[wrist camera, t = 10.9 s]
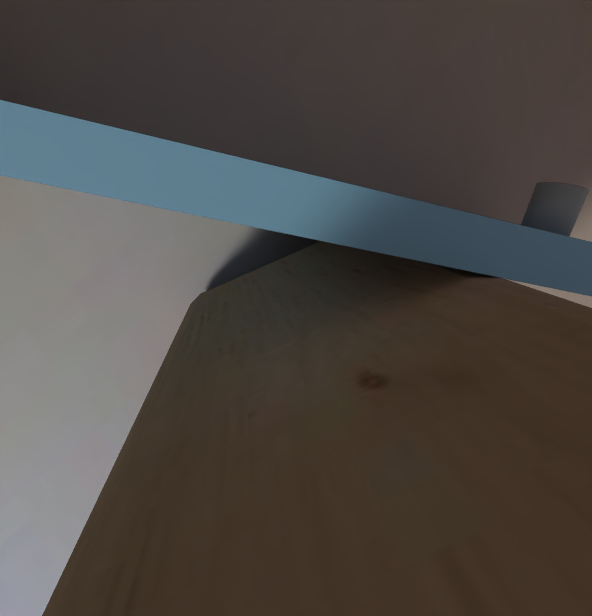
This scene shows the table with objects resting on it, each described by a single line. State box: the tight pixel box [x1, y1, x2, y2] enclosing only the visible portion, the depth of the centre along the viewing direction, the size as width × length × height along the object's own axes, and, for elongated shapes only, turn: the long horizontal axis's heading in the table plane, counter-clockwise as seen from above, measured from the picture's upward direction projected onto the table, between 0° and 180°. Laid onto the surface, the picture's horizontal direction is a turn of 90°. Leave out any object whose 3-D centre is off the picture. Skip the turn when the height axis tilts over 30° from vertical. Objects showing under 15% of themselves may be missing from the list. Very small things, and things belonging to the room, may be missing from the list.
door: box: [0, 100, 592, 296], centre depth 12 cm, size 27×3×12 cm, turn 78°
